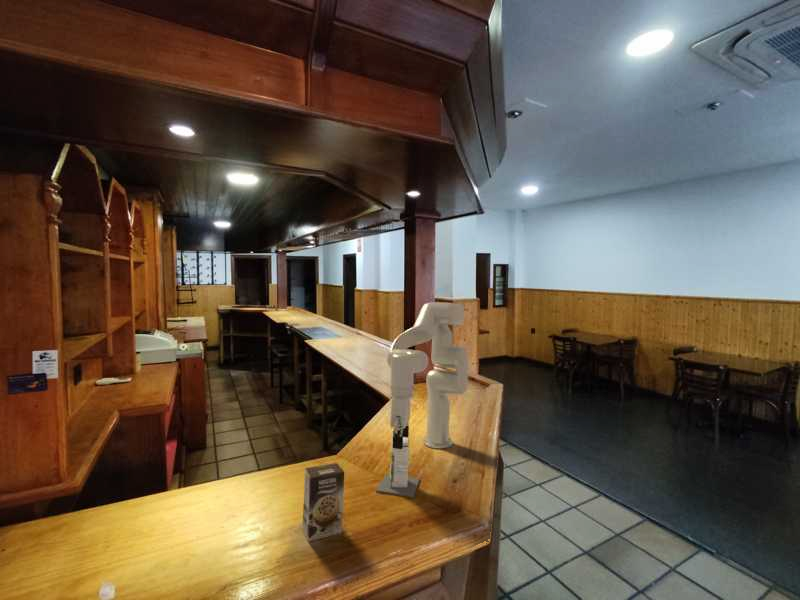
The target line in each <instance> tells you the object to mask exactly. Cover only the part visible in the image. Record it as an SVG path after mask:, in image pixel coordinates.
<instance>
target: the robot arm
mask: <svg viewBox="0 0 800 600" xmlns="http://www.w3.org/2000/svg"><path fill="white" fill-rule="evenodd" d="M465 319H466V310H465V308H464V306H463V305H461V304H457V303H453V302H441V301H440V302H438V301H435V302H434V301H430V302H425V303H424V304H423V305H422V307H421V309H420V311H419V313H418V315H417V317H416V320H415V322H414V324H413V326H412V327H410V328H409V329H407V330H405V331H404V332H402V333H400V334H399V335H397V337H396V338H395V339H394V340H393V342H392V344H391V346H390V348H389V350H388V353H387V357H386V358H387V359H386V361H387V366H388V367H389V368H390V397H392V399H391V405H390V407H391V408H390V419H389V421H390V422H389V426H390V427H389V428H391V429H393V430H392V437H393V445H392V444H391V448H392V447H393V448H395V449H402V448H403V437H406V438H409V434H410V433H409V432H410V430H409V429H410V428H409V426H410V425H409V423H410V422H409V421H410V417H411V398H413V397H414V381H415V380H414V379H415V378H414V374H419V373H423V372H424V371H425V370H426V369H427V367H428V365H429V357H428V354H427V353H426V352H424V351H422V350H417V349H409V348H410V347H413V346H417V345H420V344H424V343H427V342H429V341H431V357H430V358H431V363H432V364H433V365H434V366H436V367H440V368H441V367H442V368H452V369H455V371H454V370H449V369H448V370H447V369H432V370H430V371H428V372H427V374H426V378H425V379H426V381H425V382H426V389H427V412H426V413H427V418H426V436H425V437H424V438H423V439H422V443H423V445H425V446H426V447H429V448H432V449H447V448H450V447H452V446H453V440H452V439H451V438H450V437H449V436H450V413H451V412H450V411H451V409H450V408H451V403H450V399H449V398H448V396H447V394H450V395H457V396H463V395H464V394H465V393H466V392H467V390H468V389H467V388H468V378H469V376H468V375H469V352H468V350H467V348H466V347H465V346H463V345H462V346H461V345H454V344H453V332H452V331H451V328H450V326H461V325H462V324H464V322H465ZM448 325H450V326H448Z"/></svg>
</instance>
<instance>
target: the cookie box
mask: <svg viewBox="0 0 800 600" xmlns="http://www.w3.org/2000/svg"><path fill="white" fill-rule="evenodd" d="M344 485H345V471H344V469H343V468H342V467H341V466H340V465H339V463H338V462H335V463H329V464H323V465H317V466H312V467H311V466H310V467H305V469H304V488H303V489H304V492H303V506H302V530H303V533H304V536H305V538H306V541H307V542H313V541H316V540H320V539H323V538H328V537H333V536H335V535H339V534H342V532H343V516H344V514H343V513H344V511H343V510H344V494H345V493H344V490H345V486H344Z"/></svg>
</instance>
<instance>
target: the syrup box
mask: <svg viewBox="0 0 800 600" xmlns="http://www.w3.org/2000/svg"><path fill="white" fill-rule="evenodd" d="M392 445H393V436H392V437H391V451H390V472H389V474H390V487H392V488H407V487H408V477H409V464H410V463H409V461H410V438H409V437H408V438H406V437H403V448H402V449H395V448H393V447H392Z"/></svg>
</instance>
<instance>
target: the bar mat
mask: <svg viewBox="0 0 800 600" xmlns="http://www.w3.org/2000/svg"><path fill="white" fill-rule="evenodd" d="M420 480H421V478H419V477H415V476H414V477H413V476H408V487H407V488H392V487H390V473H385V474H384V476H383V477H382V479H381V481H380V483H379V484H378V486H377V488H376V489H375V493H379V494H384V495H386V494H387V495H393V496H399V497H405V498H414V497H415V495H416V492H417V489H418V486H419V483H420Z"/></svg>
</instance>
